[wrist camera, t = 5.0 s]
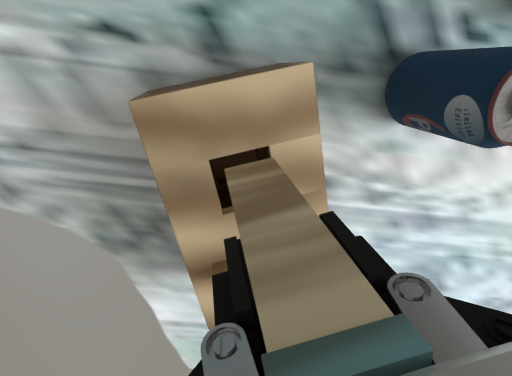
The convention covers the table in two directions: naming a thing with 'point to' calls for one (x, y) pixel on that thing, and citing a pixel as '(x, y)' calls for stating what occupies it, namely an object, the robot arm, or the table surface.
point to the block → (313, 288)
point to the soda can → (456, 94)
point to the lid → (227, 143)
